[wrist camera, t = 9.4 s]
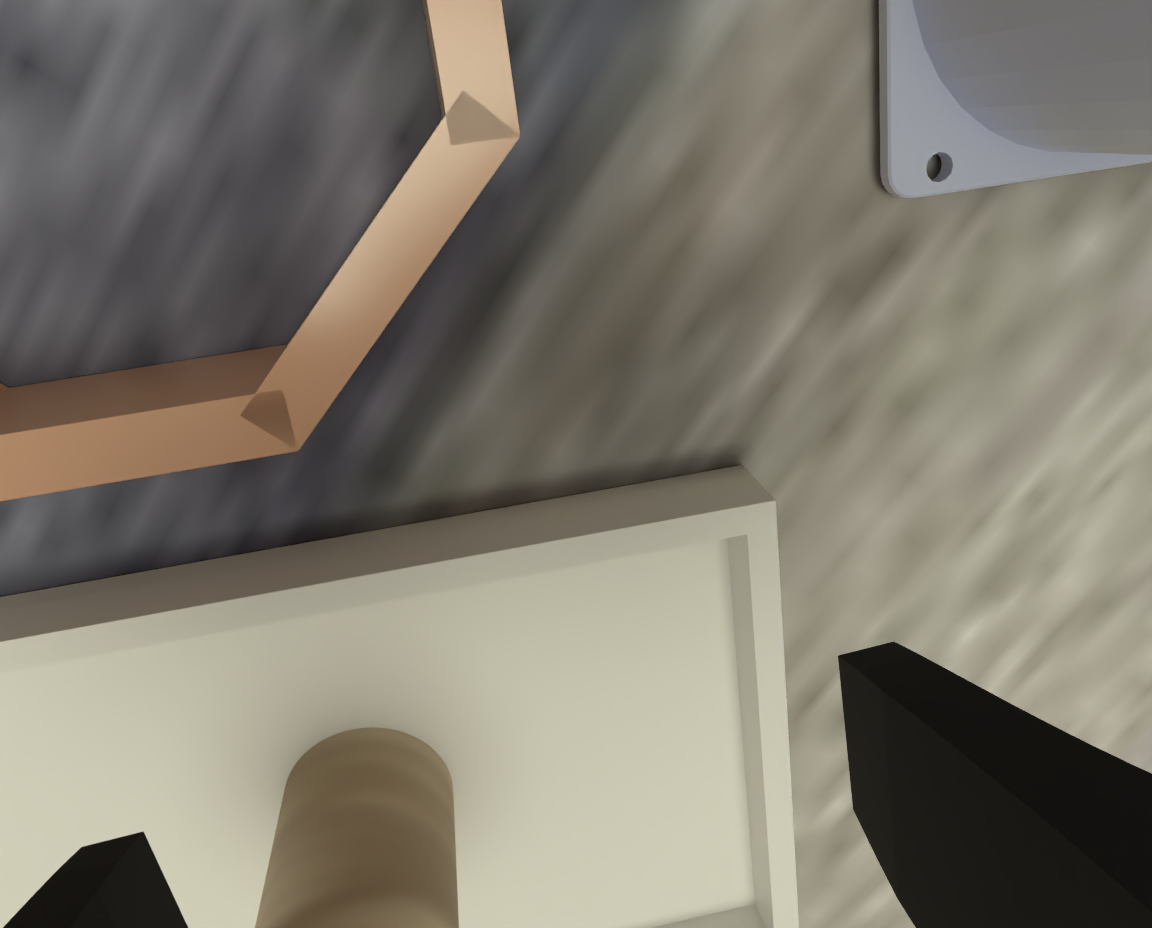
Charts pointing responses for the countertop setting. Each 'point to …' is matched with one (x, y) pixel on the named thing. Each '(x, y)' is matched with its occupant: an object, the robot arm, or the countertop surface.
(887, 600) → the countertop surface
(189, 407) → the octagonal open frame
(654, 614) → the cream tray
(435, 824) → the wooden pin
